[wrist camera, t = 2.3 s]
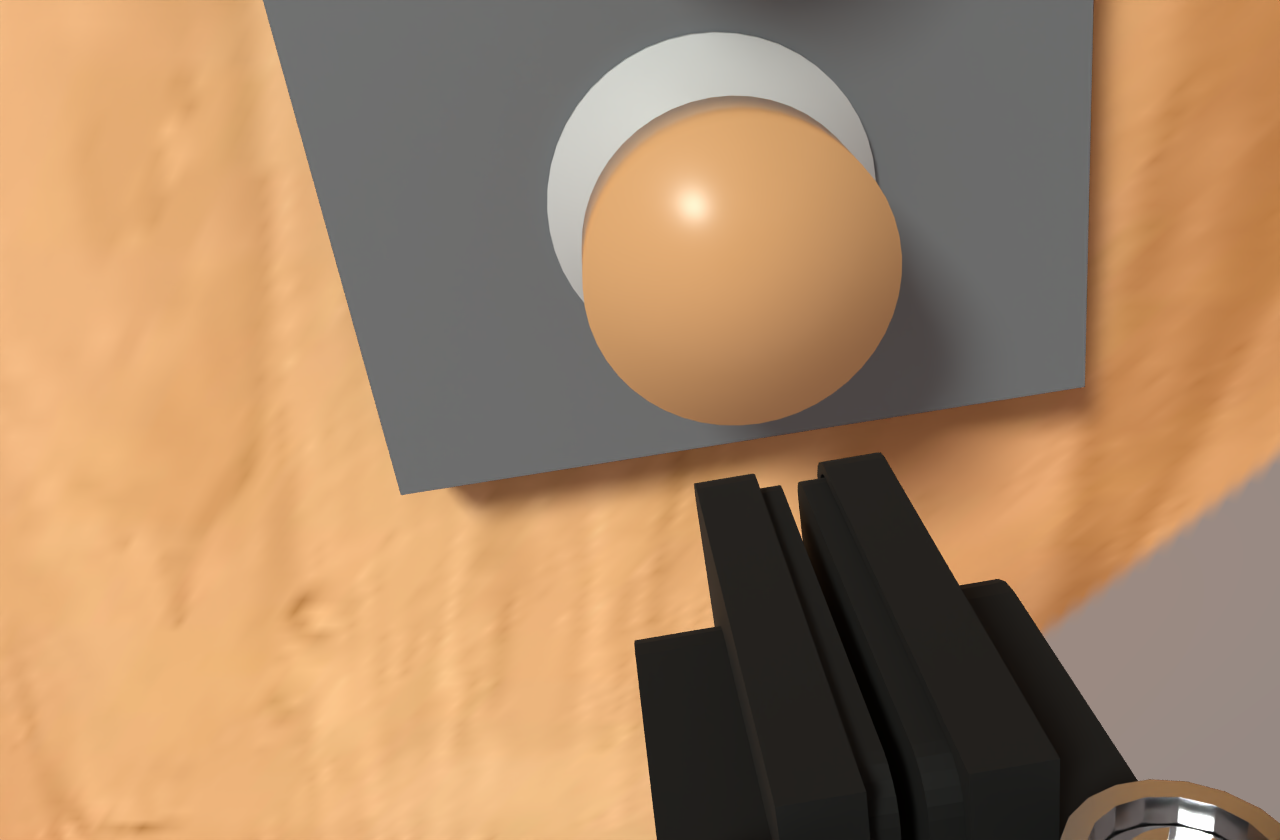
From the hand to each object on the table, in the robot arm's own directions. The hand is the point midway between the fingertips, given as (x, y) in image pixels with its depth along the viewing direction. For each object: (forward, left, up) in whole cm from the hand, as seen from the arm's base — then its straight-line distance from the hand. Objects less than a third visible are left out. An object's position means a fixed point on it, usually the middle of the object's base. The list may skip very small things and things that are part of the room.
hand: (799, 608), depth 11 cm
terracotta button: (-1, 0, -11) cm, 11 cm away
